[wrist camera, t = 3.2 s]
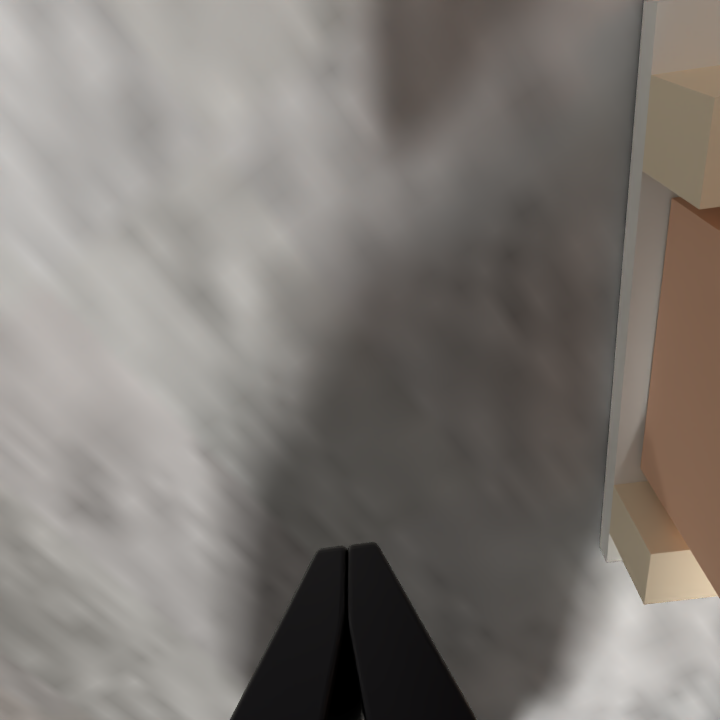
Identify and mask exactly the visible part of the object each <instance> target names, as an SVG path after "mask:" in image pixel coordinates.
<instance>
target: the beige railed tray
mask: <svg viewBox="0 0 720 720" xmlns="http://www.w3.org/2000/svg"><path fill="white" fill-rule="evenodd" d="M675 197H681V198H683V199H684V200H686V201H687V202H689V203H690V204H692V205H693V206H695V207H696V208H698V209H707V208H714V207H720V0H646V1H644V5H643V17H642V29H641V42H640V54H639V66H638V79H637V91H636V103H635V115H634V128H633V140H632V152H631V165H630V177H629V189H628V202H627V214H626V226H625V239H624V251H623V263H622V276H621V288H620V300H619V312H618V325H617V337H616V349H615V362H614V374H613V386H612V399H611V411H610V423H609V436H608V448H607V460H606V473H605V485H604V497H603V510H602V522H601V534H600V546H599V547H600V549H601V551H602V554H603V556H604V558H605V560H606V562H607V563H608V562H617V561H623V562H624V564H625V567H626V569H627V571H628V573H629V575H630V577H631V579H632V581H633V583H634V585H635V587H636V589H637V591H638V593H639V595H640V597H641V599H642V601H643V604H644V605H645V604H653V603H662V602H671V601H679V600H688V599H696V598H705V597H714V596H718V595H717V593H716V592H715V590H714V588H713V587H712V585H711V583H710V582H709V580H708V578H707V577H706V575H705V574H704V572H703V570H702V569H701V567H700V565H699V564H698V562H697V560H696V559H695V557H694V555H693V554H692V552H691V551H690V549H689V547H688V546H687V544H686V542H685V541H684V539H683V537H682V536H681V534H680V533H679V531H678V529H677V528H676V526H675V524H674V523H673V521H672V519H671V518H670V516H669V514H668V513H667V511H666V510H665V508H664V506H663V505H662V503H661V501H660V500H659V498H658V496H657V495H656V493H655V492H654V490H653V488H652V487H651V485H650V483H649V482H648V480H647V478H646V477H645V475H644V473H643V472H642V470H641V469H640V465H641V457H642V448H643V440H644V431H645V422H646V414H647V405H648V397H649V388H650V380H651V371H652V362H653V354H654V345H655V337H656V328H657V319H658V311H659V302H660V294H661V285H662V276H663V268H664V259H665V251H666V242H667V233H668V225H669V216H670V208H671V199H672V198H675Z"/></svg>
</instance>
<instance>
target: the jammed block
mask: <svg viewBox="0 0 720 720" xmlns="http://www.w3.org/2000/svg"><path fill="white" fill-rule="evenodd" d="M640 469H641V470H642V472H643V473H644V475H645V477H646V478H647V480H648V482H649V483H650V485H651V487H652V488H653V490H654V492H655V493H656V495H657V496H658V498H659V500H660V501H661V503H662V505H663V506H664V508H665V510H666V511H667V513H668V514H669V516H670V518H671V519H672V521H673V523H674V524H675V526H676V528H677V529H678V531H679V533H680V534H681V536H682V537H683V539H684V541H685V542H686V544H687V546H688V547H689V549H690V551H691V552H692V554H693V555H694V557H695V559H696V560H697V562H698V564H699V565H700V567H701V569H702V570H703V572H704V574H705V575H706V577H707V578H708V580H709V582H710V583H711V585H712V587H713V588H714V590H715V592H716V593H717V595H718V597H719V598H720V207H714V208H707V209H698V208H696V207H695V206H693V205H692V204H690V203H689V202H687V201H686V200H684V199H683V198H681V197H675V198H672V199H671V208H670V216H669V225H668V233H667V242H666V251H665V259H664V268H663V276H662V285H661V294H660V302H659V311H658V319H657V328H656V337H655V345H654V354H653V362H652V371H651V380H650V388H649V397H648V405H647V414H646V422H645V431H644V440H643V448H642V457H641V465H640Z"/></svg>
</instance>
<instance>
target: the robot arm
mask: <svg viewBox="0 0 720 720" xmlns="http://www.w3.org/2000/svg"><path fill="white" fill-rule="evenodd" d="M230 720H477V719H476V717H475V715H474V713H473V712H472V710H471V708H470V706H469V705H468V703H467V701H466V699H465V698H464V696H463V694H462V692H461V690H460V689H459V687H458V685H457V683H456V682H455V680H454V678H453V676H452V675H451V673H450V671H449V669H448V667H447V666H446V664H445V662H444V660H443V659H442V657H441V655H440V653H439V652H438V650H437V648H436V646H435V644H434V643H433V641H432V639H431V637H430V636H429V634H428V632H427V630H426V629H425V627H424V625H423V623H422V622H421V620H420V618H419V616H418V614H417V613H416V611H415V609H414V607H413V606H412V604H411V602H410V600H409V599H408V597H407V595H406V593H405V591H404V590H403V588H402V586H401V584H400V583H399V581H398V579H397V577H396V576H395V574H394V572H393V570H392V568H391V567H390V565H389V563H388V561H387V560H386V558H385V556H384V554H383V553H382V551H381V549H380V547H379V546H378V545H377V544H376V543H374V542H370V543H361V544H353V545H350V546H349V548H348V550H347V548H346V547H344V546H337V547H329V548H322V549H319V550H318V551H317V552H316V554H315V555H314V557H313V559H312V561H311V563H310V565H309V567H308V569H307V571H306V573H305V575H304V577H303V579H302V581H301V583H300V585H299V586H298V588H297V590H296V592H295V594H294V596H293V598H292V600H291V602H290V604H289V606H288V608H287V610H286V612H285V614H284V616H283V618H282V620H281V621H280V623H279V625H278V627H277V629H276V631H275V633H274V635H273V637H272V639H271V641H270V643H269V645H268V647H267V649H266V651H265V653H264V655H263V656H262V658H261V660H260V662H259V664H258V666H257V668H256V670H255V672H254V674H253V676H252V678H251V680H250V682H249V684H248V686H247V688H246V690H245V691H244V693H243V695H242V697H241V699H240V701H239V703H238V705H237V707H236V709H235V711H234V713H233V715H232V717H231V719H230Z"/></svg>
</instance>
